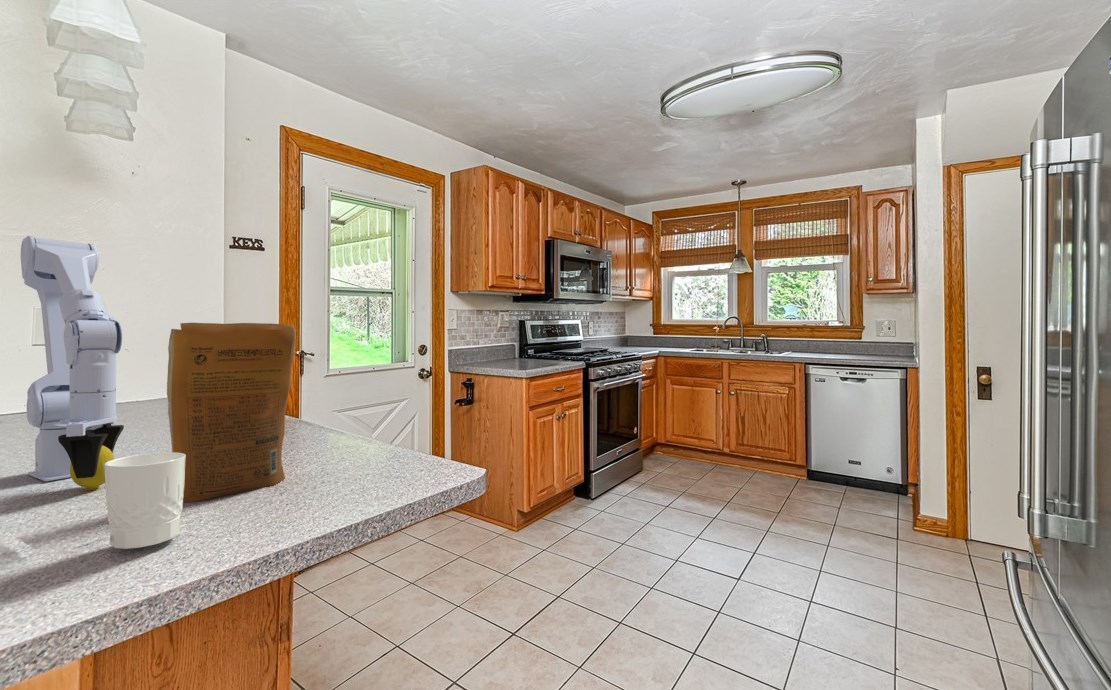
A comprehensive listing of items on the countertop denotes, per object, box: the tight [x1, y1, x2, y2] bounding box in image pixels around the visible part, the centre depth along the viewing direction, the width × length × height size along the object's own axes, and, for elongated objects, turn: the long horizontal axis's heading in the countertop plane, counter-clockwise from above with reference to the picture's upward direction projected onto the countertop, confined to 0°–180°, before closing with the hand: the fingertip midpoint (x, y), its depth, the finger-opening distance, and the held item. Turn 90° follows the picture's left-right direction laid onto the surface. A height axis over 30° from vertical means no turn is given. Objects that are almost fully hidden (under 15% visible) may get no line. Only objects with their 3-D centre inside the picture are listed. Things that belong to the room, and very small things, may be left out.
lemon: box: [70, 445, 115, 491], centre depth 83 cm, size 6×6×8 cm
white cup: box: [104, 451, 186, 550], centre depth 63 cm, size 8×8×10 cm
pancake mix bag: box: [166, 322, 297, 503], centre depth 82 cm, size 7×19×28 cm, turn 140°
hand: (93, 473), depth 83 cm, fingers closed on lemon, 5 cm apart
